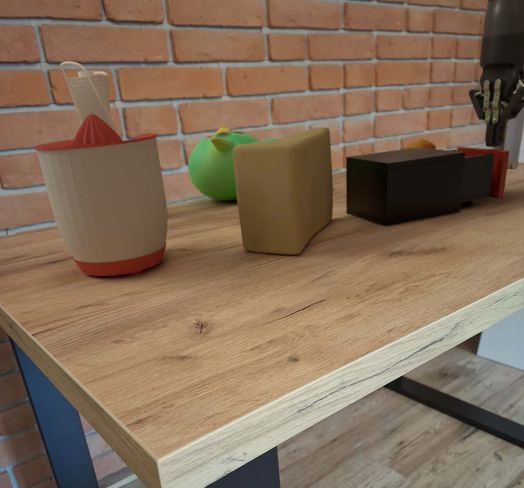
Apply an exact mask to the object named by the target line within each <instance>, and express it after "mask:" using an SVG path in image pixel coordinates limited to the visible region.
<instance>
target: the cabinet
mask: <svg viewBox="0 0 524 488" xmlns="http://www.w3.org/2000/svg"><path fill="white" fill-rule="evenodd" d="M401 149H402V148H401ZM464 157H465V152H458V151H448V150H445V149H437V148H435V149H427V148H417V147H416V148H409V149H402V150H400V149H396V150H388V151H380V152H374V153H373V152H372V153H366V154H358V155H352V156H346V157H345V178H346V179H345V182H346V183H345V185H346V186H345V187H346V188H345V190H346V191H345V192H346V193H345V194H346V196H345V197H346V198H345V199H346V201H345V203H346V204H345V205H346V206H345V207H346V210H345V211H346V214H349V215H351V216H355V217H356V218H360V219H364V220H367V221H370V222H372V223H375V224H379V225H381V226H385V227H389V226H390V227H391V226H393V225H399V224H406V223H410V221H411V222H416V221H420V220H421V221H422V220H426V219H433V218H436V217H442V216H447V215H452V214H453V215H454V214H457V213H460V210H461V203H460V202H461V192H462V181H463V171H464V160H465V158H464ZM405 222H406V223H405Z"/></svg>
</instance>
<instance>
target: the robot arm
mask: <svg viewBox="0 0 524 488" xmlns="http://www.w3.org/2000/svg"><path fill="white" fill-rule="evenodd" d="M482 25H483V26H482V35H481V44H480V45H481V46H480V53H479V54H480V55H479V63H478V64H479V67H480V68H482V72H481V75H480V77H479V84H478V85H476V87H474V88H471V89H469V90H468V97H469V99H470V102H471V104H472V106H473V109H474V111H475V114H476V116H477V119H478V120H480V121H481V120H482V121H484V123H485V124H486V128H485V137H484V143H485V146H486V147H488V148H498V147H501V146H502V143H503V141H504V136H505V130H506V124H507V123H508V121H511V120H514V119H516V118H517V117H518V115H519V113H520V112H521V111H522V110H523V108H524V0H487V4H486V9H485V14H484V17H483V24H482Z"/></svg>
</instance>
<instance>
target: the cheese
mask: <svg viewBox="0 0 524 488" xmlns="http://www.w3.org/2000/svg"><path fill="white" fill-rule="evenodd" d="M280 138H281V139H278V140H273V141H267V142H254V143H247V144H241V145H238V146H236V147H235V148H234V149H233V161H234V172H235V184H236V194H237V200H236V203H237V210H238V218H239V225H240V226H239V227H240V234H241V240H242V248H243V249H244V251H246V252H247V251H248V252H253V253H264V254H273V255H275V254H276V255H287V256H289V255H290V256H291V255H293V256H295V255H298V254H301V253H302V251H303V250H304V249H305V247H306V246H307V244H308V243H309V241H310V240H311V238H312V237H313V236H314V235H315V234H317V233H318V232H319V231H321V230H322V229H323V228H325V227H326V225H328V224H329V222H331V221H332V219H333V213H334V211H333V209H334V205H333V204H334V182H333V179H334V177H333V165H332V163H333V162H332V148H331V145H332V144H331V131H330V129H329V128H328V127H325V126H323V127H312V128H309V129H306V130H304V131H301V132H298V133H294V134H291V135H287V136H285V137H280Z"/></svg>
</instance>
